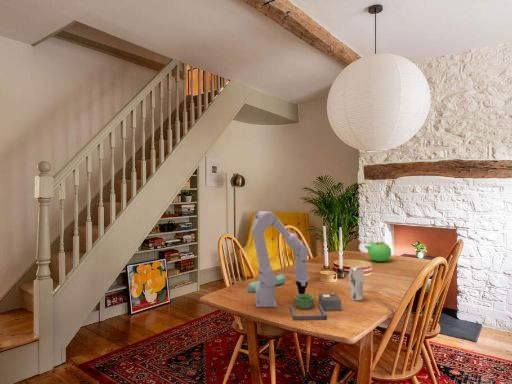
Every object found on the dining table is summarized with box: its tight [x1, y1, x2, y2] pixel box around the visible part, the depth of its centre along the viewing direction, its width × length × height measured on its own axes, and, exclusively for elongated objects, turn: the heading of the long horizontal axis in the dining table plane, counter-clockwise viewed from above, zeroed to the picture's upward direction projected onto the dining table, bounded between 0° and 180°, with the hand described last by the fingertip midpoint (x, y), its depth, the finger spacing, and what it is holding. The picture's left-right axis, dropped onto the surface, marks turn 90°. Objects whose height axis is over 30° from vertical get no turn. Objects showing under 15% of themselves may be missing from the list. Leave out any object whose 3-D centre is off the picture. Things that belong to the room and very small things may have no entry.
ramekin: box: [294, 293, 315, 310], centre depth 157 cm, size 9×9×4 cm
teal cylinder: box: [247, 273, 287, 293], centre depth 187 cm, size 6×6×25 cm
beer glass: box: [348, 266, 365, 302], centre depth 166 cm, size 7×7×15 cm
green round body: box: [364, 240, 392, 263], centre depth 250 cm, size 18×17×15 cm
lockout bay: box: [289, 303, 328, 321], centre depth 147 cm, size 14×14×2 cm
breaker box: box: [318, 292, 342, 311], centre depth 156 cm, size 8×10×5 cm
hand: (301, 296), depth 166 cm, fingers closed
